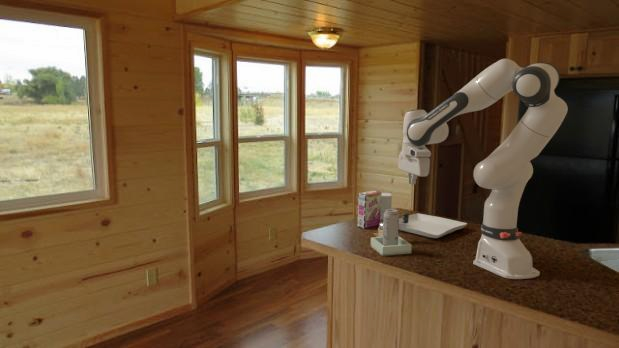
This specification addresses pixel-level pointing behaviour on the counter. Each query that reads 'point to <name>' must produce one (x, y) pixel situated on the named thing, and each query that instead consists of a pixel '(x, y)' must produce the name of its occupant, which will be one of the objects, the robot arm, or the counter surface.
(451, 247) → the counter surface
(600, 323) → the counter surface
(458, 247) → the counter surface
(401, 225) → the crank lever
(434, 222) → the square plate
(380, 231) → the crank pedestal
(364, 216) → the candy bar box
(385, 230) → the energy drink can
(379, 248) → the tray
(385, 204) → the supplement box
